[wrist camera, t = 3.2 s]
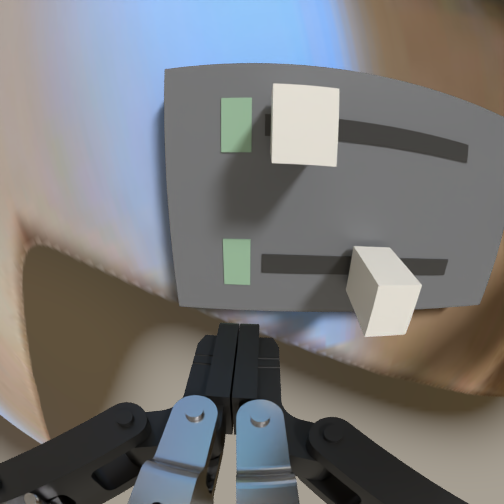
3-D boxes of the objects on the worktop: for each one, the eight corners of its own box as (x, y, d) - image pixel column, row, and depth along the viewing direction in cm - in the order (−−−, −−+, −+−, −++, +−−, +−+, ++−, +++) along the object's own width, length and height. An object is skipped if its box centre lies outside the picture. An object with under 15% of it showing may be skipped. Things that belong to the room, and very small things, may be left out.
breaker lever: (318, 99, 13) (339, 88, 9) (316, 155, 14) (336, 166, 10) (271, 97, 13) (273, 83, 9) (270, 153, 14) (271, 163, 10)
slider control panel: (493, 120, 15) (518, 123, 12) (462, 286, 21) (479, 305, 18) (179, 77, 16) (164, 69, 13) (189, 284, 22) (178, 306, 19)
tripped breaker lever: (389, 247, 16) (422, 285, 12) (380, 290, 17) (405, 334, 13) (353, 246, 16) (378, 285, 12) (345, 290, 17) (364, 336, 13)
